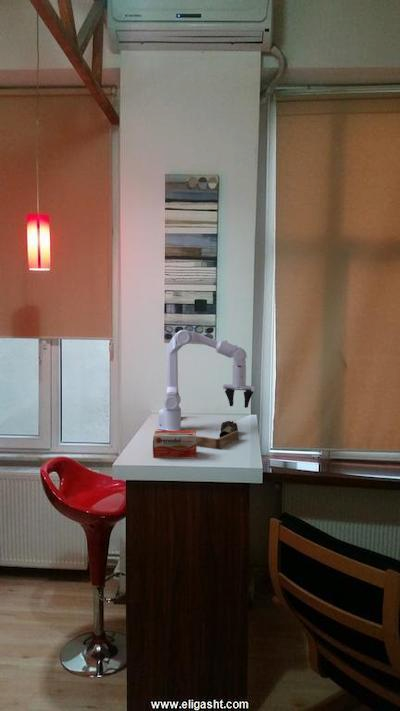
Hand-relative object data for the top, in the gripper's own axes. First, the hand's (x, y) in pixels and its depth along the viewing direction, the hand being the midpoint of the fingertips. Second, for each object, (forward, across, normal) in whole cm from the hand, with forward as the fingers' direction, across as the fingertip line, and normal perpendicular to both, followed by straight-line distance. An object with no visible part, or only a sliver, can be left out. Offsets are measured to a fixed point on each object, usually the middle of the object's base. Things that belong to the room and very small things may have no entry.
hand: (238, 406), depth 213 cm
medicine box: (+11, -3, -48) cm, 49 cm away
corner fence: (+10, +1, -25) cm, 27 cm away
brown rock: (+11, +1, -12) cm, 16 cm away
